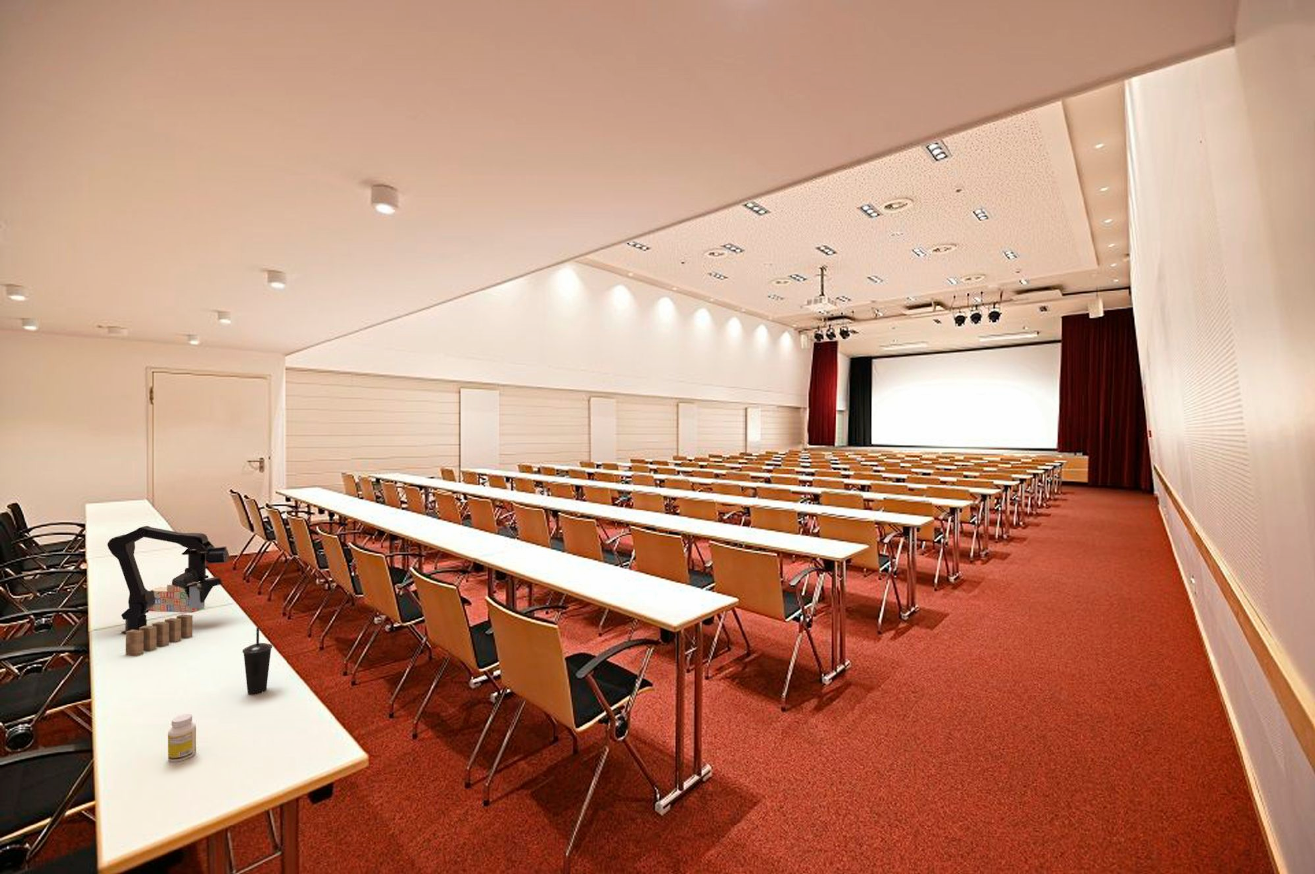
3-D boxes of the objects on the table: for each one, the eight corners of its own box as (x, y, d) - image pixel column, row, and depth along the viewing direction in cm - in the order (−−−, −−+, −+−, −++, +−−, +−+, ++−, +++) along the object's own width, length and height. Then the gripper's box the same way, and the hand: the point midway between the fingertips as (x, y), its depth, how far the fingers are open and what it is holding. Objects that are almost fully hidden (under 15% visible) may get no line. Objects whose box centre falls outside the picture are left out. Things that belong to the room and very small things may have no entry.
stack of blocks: (147, 611, 255) (147, 583, 255) (160, 607, 262) (160, 580, 262) (192, 612, 254) (192, 585, 254) (204, 608, 260) (204, 581, 260)
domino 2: (139, 650, 210) (139, 627, 210) (145, 648, 213) (145, 625, 212) (150, 651, 209) (150, 628, 209) (156, 649, 212) (156, 626, 212)
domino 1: (125, 655, 206) (125, 631, 206) (132, 652, 208) (132, 629, 208) (136, 656, 205) (137, 632, 205) (143, 654, 207) (143, 630, 207)
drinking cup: (277, 688, 181) (278, 625, 181) (253, 698, 174) (254, 633, 174) (260, 684, 184) (261, 622, 184) (236, 694, 177) (236, 630, 176)
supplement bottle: (178, 750, 146) (178, 712, 145) (201, 750, 146) (201, 711, 146) (162, 763, 140) (162, 723, 140) (185, 762, 141) (185, 722, 141)
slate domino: (189, 607, 236) (189, 587, 236) (194, 605, 238) (194, 585, 238) (199, 608, 235) (199, 587, 235) (204, 606, 237) (204, 586, 237)
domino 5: (176, 637, 224) (176, 616, 224) (182, 635, 226) (182, 614, 226) (186, 638, 223) (187, 617, 223) (192, 636, 225) (192, 615, 225)
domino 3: (152, 646, 215) (152, 623, 215) (158, 644, 217) (158, 621, 217) (162, 647, 214) (163, 624, 214) (168, 645, 216) (169, 622, 216)
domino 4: (164, 641, 219) (164, 619, 219) (170, 639, 221) (170, 617, 221) (175, 642, 218) (175, 620, 218) (180, 640, 220) (181, 618, 220)
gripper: (158, 567, 230) (158, 606, 230) (196, 570, 227) (196, 609, 227) (185, 561, 241) (185, 598, 241) (222, 564, 238) (222, 601, 238)
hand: (196, 602), depth 236 cm, fingers closed on slate domino, 5 cm apart
